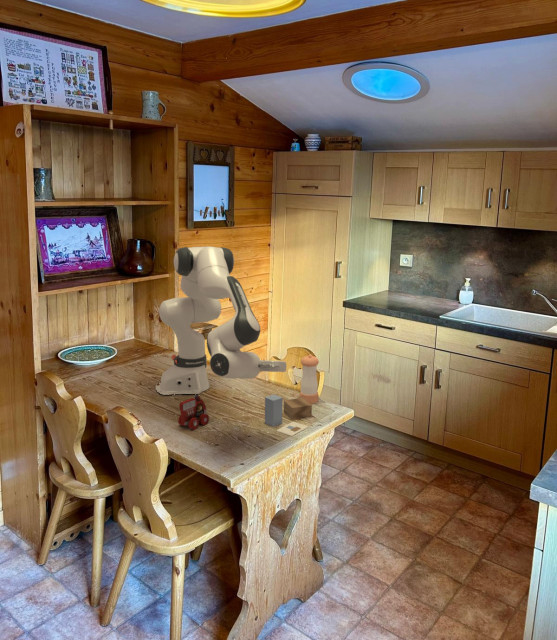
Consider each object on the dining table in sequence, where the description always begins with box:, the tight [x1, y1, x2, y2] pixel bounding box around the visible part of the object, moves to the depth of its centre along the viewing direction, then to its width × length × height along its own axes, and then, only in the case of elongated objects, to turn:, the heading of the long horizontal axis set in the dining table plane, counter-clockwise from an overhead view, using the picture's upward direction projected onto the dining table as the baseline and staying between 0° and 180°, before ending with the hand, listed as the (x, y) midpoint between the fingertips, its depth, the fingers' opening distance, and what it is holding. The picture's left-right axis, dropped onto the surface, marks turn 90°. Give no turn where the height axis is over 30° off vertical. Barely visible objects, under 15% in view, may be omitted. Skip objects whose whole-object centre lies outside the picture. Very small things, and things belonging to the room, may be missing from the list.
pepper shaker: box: [299, 354, 319, 405], centre depth 242 cm, size 7×7×19 cm
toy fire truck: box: [177, 394, 210, 431], centre depth 219 cm, size 7×12×10 cm, turn 143°
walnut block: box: [283, 397, 313, 421], centre depth 230 cm, size 8×8×5 cm
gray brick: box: [264, 394, 284, 428], centre depth 221 cm, size 4×4×10 cm
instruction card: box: [276, 420, 310, 437], centre depth 217 cm, size 10×7×1 cm
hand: (269, 365), depth 213 cm, fingers open, 8 cm apart
